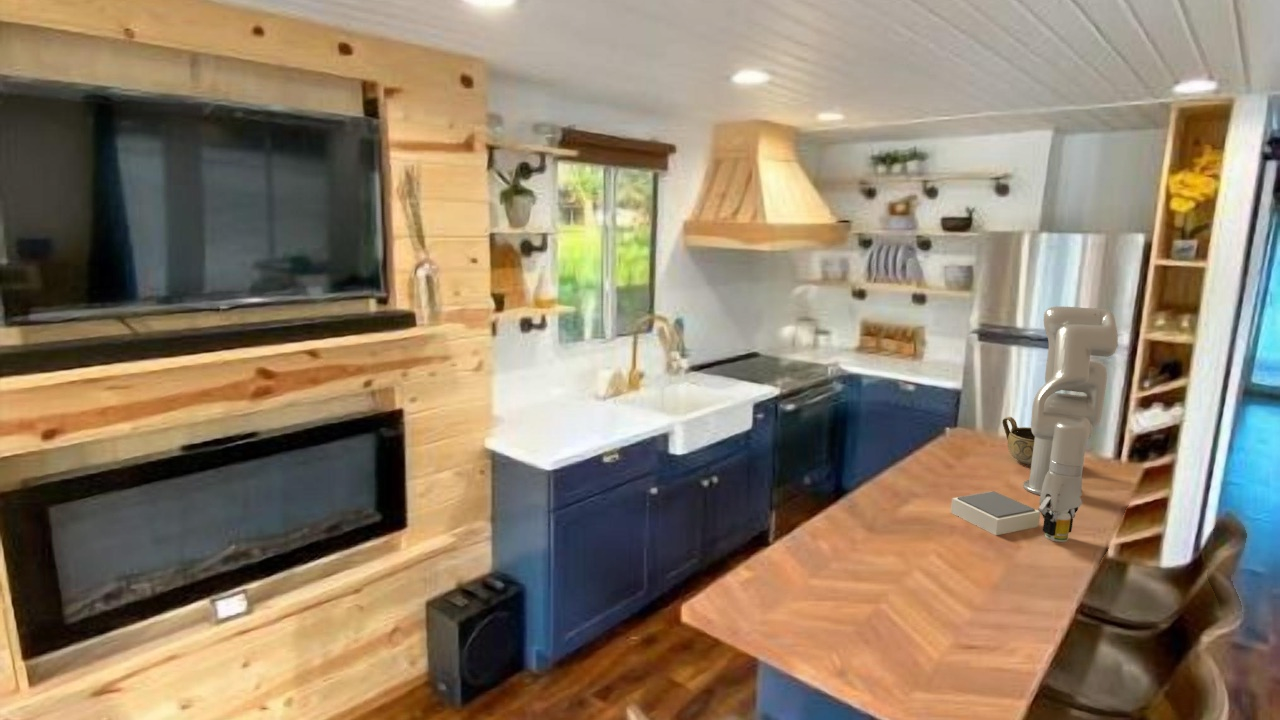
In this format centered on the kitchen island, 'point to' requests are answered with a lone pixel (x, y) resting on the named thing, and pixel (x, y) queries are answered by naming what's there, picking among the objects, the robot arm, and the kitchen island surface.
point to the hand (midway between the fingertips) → (1056, 531)
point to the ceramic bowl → (1019, 441)
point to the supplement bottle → (1061, 526)
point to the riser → (995, 512)
